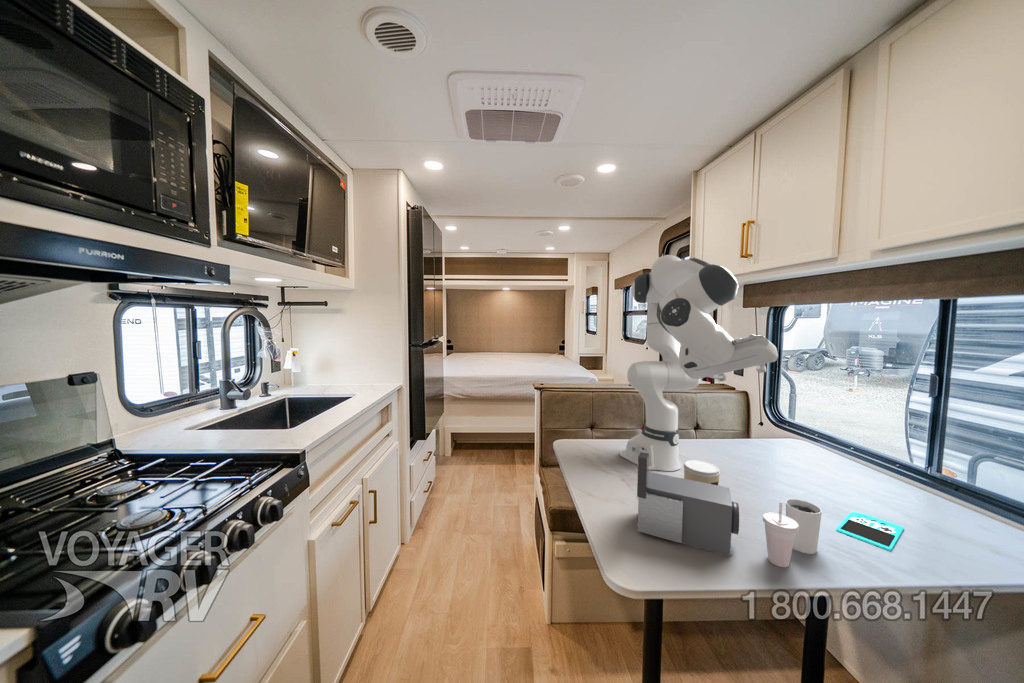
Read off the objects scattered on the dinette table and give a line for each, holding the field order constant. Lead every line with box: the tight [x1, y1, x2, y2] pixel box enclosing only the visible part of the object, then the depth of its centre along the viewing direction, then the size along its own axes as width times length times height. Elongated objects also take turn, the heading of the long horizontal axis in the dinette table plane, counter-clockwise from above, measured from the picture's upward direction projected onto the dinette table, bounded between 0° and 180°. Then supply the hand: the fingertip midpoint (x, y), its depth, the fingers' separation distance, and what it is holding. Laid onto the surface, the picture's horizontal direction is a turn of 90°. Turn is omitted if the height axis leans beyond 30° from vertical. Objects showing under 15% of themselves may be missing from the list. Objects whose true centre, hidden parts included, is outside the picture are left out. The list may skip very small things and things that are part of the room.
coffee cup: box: [683, 459, 721, 486], centre depth 101 cm, size 9×9×12 cm
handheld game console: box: [835, 511, 905, 552], centre depth 90 cm, size 10×16×1 cm, turn 124°
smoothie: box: [762, 501, 799, 568], centre depth 78 cm, size 6×6×14 cm
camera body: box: [648, 471, 740, 558], centre depth 88 cm, size 22×10×12 cm, turn 61°
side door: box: [636, 452, 683, 544], centre depth 84 cm, size 10×4×20 cm, turn 62°
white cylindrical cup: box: [785, 498, 823, 555], centre depth 83 cm, size 7×7×10 cm
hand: (742, 374), depth 89 cm, fingers open, 8 cm apart
